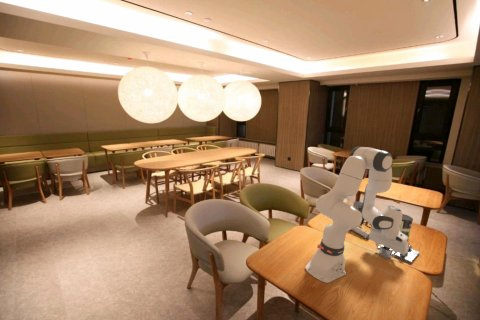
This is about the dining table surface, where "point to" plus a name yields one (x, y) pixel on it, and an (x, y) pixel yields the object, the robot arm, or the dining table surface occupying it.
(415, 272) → the dining table surface
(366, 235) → the grey brown bar
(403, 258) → the valve base
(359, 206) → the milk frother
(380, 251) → the coupling
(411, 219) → the coffee can
